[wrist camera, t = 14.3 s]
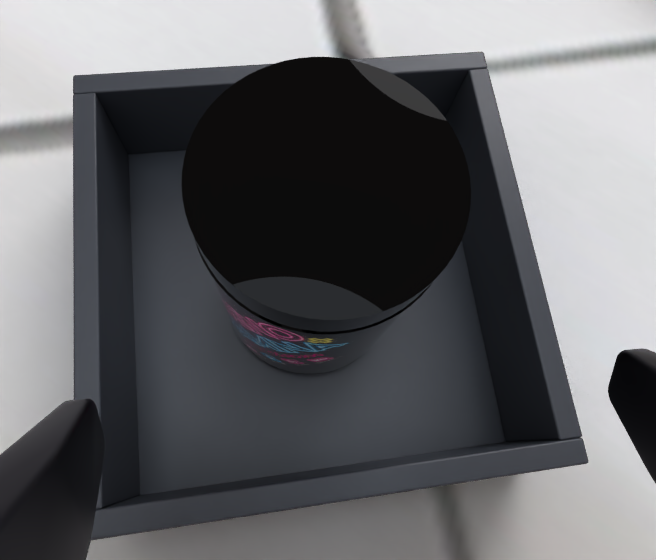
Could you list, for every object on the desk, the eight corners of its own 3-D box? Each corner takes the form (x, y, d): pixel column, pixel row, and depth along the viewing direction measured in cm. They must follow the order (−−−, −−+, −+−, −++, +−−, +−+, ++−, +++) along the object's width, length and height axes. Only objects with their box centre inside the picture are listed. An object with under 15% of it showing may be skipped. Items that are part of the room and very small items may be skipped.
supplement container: (218, 229, 23) (170, 64, 13) (373, 213, 24) (440, 46, 14) (233, 389, 21) (191, 340, 11) (402, 365, 22) (502, 301, 12)
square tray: (522, 459, 22) (590, 463, 17) (122, 520, 20) (73, 543, 15) (447, 122, 26) (483, 50, 21) (113, 147, 24) (72, 74, 20)
